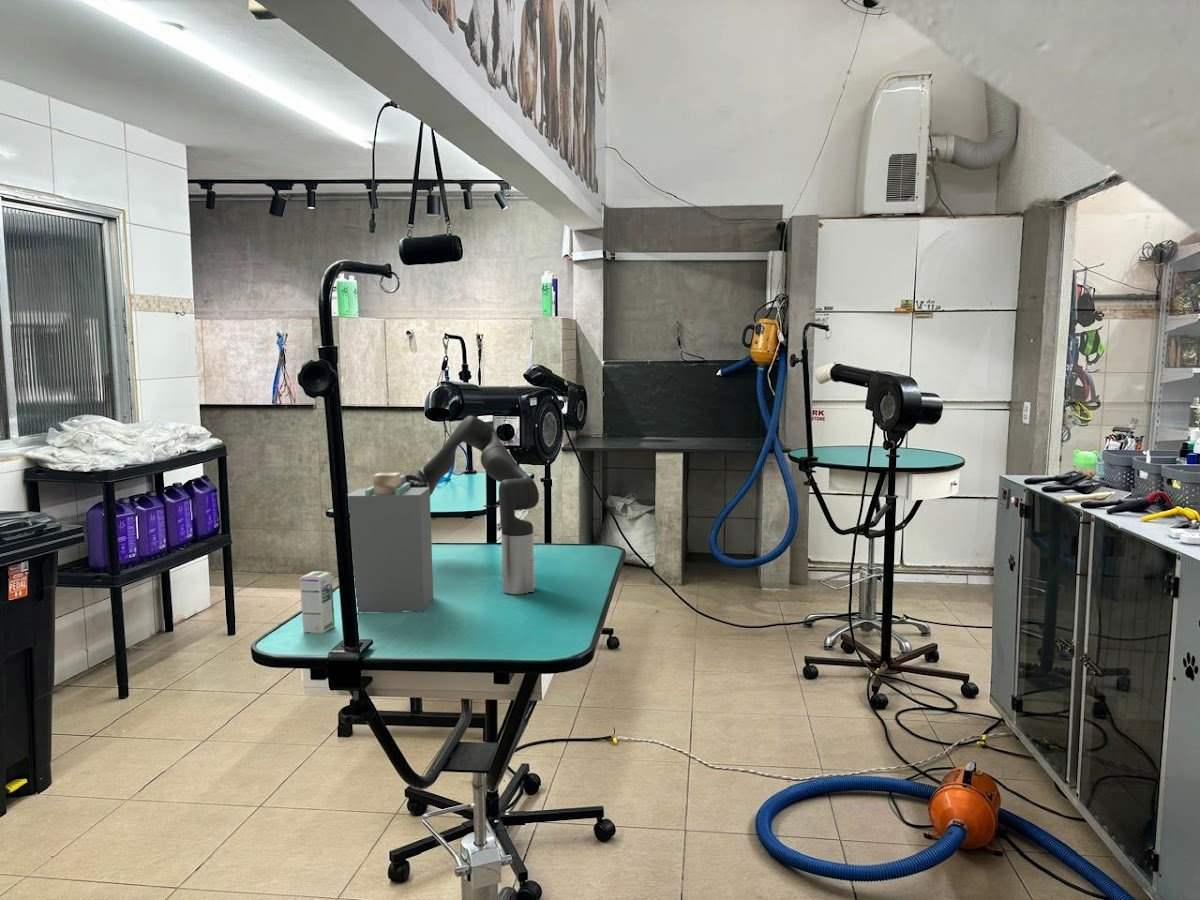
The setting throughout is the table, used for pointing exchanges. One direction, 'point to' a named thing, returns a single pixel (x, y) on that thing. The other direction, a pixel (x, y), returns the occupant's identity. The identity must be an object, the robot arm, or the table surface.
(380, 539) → the tall grey pedestal
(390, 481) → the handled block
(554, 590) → the table surface
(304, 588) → the syrup box
